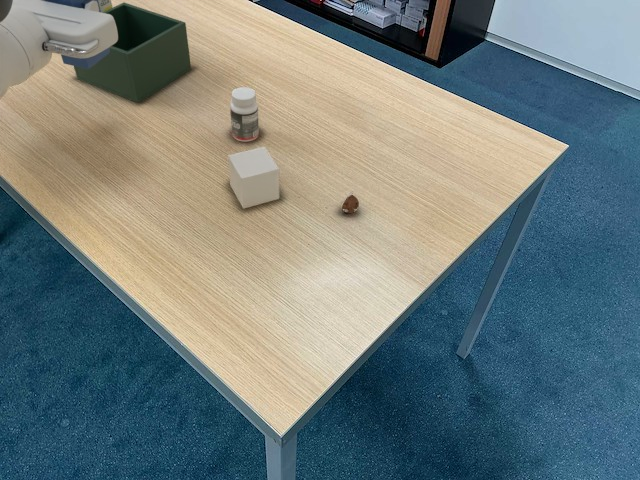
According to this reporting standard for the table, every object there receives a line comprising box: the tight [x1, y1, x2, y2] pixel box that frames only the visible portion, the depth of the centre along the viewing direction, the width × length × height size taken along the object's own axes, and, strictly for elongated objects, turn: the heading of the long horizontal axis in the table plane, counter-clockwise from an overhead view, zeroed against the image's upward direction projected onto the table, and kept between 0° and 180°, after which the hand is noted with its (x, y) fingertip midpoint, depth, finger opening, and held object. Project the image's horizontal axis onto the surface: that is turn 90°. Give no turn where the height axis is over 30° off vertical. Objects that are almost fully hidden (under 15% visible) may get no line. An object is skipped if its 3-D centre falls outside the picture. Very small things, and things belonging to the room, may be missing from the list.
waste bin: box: [73, 2, 192, 104], centre depth 106 cm, size 16×16×10 cm
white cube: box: [227, 146, 280, 210], centre depth 84 cm, size 6×6×6 cm
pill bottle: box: [229, 86, 260, 143], centre depth 94 cm, size 5×5×8 cm
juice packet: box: [44, 0, 110, 69], centre depth 81 cm, size 4×6×15 cm
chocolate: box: [340, 189, 360, 214], centre depth 83 cm, size 3×2×4 cm
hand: (76, 1), depth 81 cm, fingers closed on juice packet, 4 cm apart
